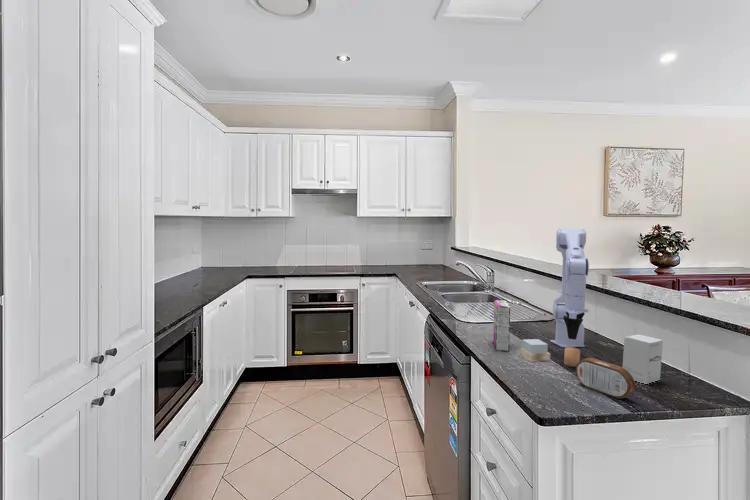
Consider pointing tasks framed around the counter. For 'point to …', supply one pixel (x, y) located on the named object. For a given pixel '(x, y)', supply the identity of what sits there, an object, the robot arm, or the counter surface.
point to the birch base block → (535, 356)
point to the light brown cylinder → (571, 356)
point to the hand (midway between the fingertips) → (573, 336)
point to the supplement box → (643, 358)
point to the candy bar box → (501, 325)
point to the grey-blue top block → (534, 346)
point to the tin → (605, 377)
